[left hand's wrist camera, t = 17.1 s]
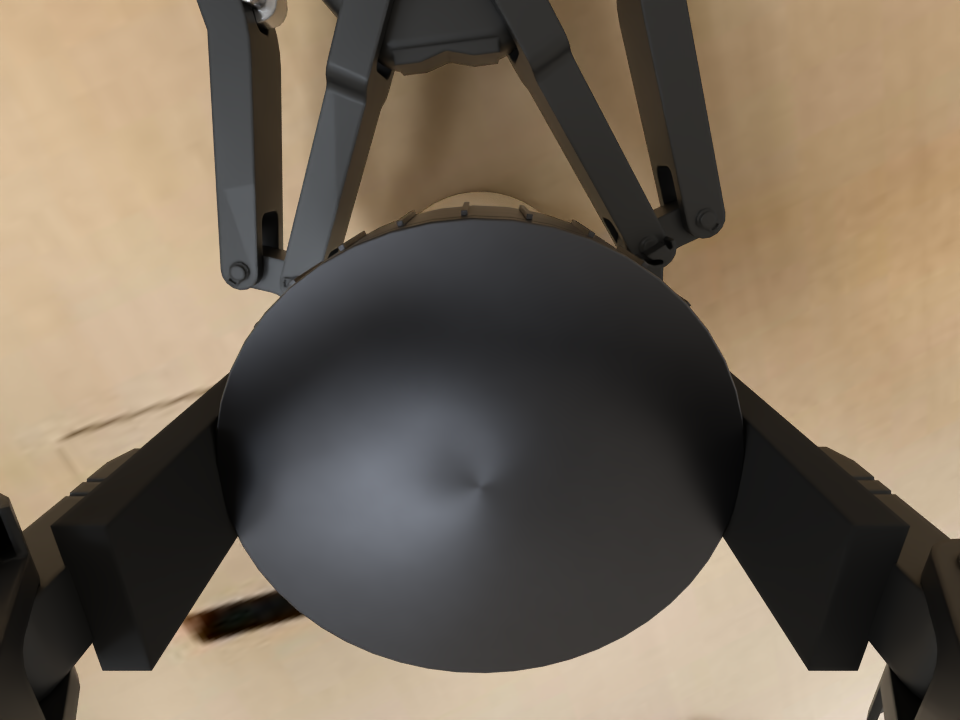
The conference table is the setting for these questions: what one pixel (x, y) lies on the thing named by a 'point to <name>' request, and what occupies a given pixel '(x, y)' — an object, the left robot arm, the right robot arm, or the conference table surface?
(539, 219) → the lid
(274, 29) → the right robot arm
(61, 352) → the conference table surface
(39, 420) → the conference table surface
